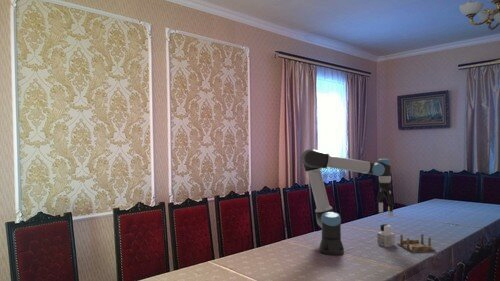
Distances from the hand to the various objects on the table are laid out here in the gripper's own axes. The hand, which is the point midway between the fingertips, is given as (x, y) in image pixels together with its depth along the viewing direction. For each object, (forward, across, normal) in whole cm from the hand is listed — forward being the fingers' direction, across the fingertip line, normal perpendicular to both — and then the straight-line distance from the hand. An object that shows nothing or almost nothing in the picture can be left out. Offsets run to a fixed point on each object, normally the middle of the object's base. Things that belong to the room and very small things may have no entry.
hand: (385, 214), depth 228 cm
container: (+20, 0, 0) cm, 20 cm away
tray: (+20, -9, -15) cm, 26 cm away
